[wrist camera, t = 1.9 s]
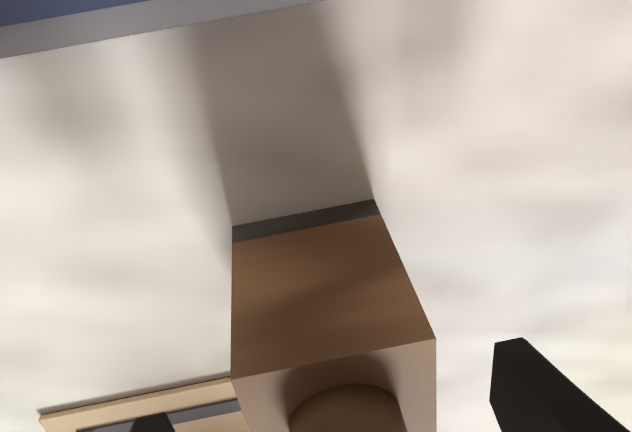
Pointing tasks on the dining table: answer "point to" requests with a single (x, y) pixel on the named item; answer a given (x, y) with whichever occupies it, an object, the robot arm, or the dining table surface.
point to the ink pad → (109, 19)
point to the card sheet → (159, 411)
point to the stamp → (328, 327)
